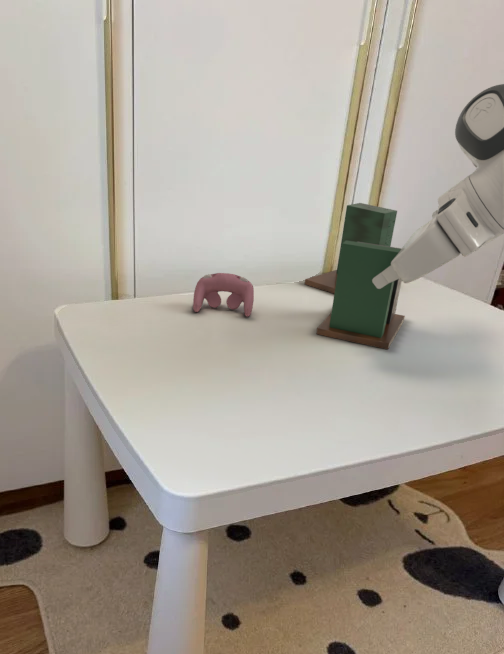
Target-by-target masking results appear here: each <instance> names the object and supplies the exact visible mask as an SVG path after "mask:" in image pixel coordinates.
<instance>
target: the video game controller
mask: <svg viewBox="0 0 504 654" xmlns="http://www.w3.org/2000/svg"><path fill="white" fill-rule="evenodd" d="M219 292H224V293H225V292H226V293H231V294H229V295H228V297H227V298H226V303H225V304H226V305H227V307H228V308H229V309H230V310H232V311H233V310H237V309H239V307H240V306H241V305H242V303H243V311H244V312H243V313H244V316H245V317H250V316H251V315H252V312H253V308H254V301H255V299H254V298H255V291H254V285H253V284H252V282H251V281H250V280H248V279H247V278H246V277H245V276H240V275H237V274H234V273H228V272H215V273H211V274H209V273H208V274H205V275H204V276H201V277H200V279H199V280H198V281H197V282H196V285H195V287H194V291H193V299H192V300H193V302H192V308H193V311H194V313H198V312H199V311H200V310H201V309H202V306H203V304H204V300H206V301H207V304H208V306H209V307H211V308H212V309H213V308H214V309H215V308H219V307H220V306H221V304H222V298H221V295H220V294H219Z"/></svg>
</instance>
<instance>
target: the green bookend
mask: <svg viewBox="0 0 504 654" xmlns="http://www.w3.org/2000/svg"><path fill="white" fill-rule="evenodd" d="M344 214H345V216H344V221H343V227H342V228H343V229H342V233H341V241H340V246H339V254H338V259H337V260H338V261H337V266H336V269H335V270H331V271H328V272H325V273H321V274H318V275H314V276H312V277H311V276H310V277H307V278H305V279H304V285H306V286H309V287H312V288H316V289H318V290H321V291H325V292H327V293H331V294H334V293H335V287H336V280H337V274H338V268H339V261H340V255H341V248H342V243H343V242H345V241H346V240H347V241H353V242H364V243H370V244H376V245H383V246H389V247H392V241H393V235H394V230H395V225H396V220H397V214H398V210H395V209H391V208H387V207H382V206H378V205H373V204H367V203H364V202H363V203H362V202H358V203H352V204H346V209H345V213H344Z"/></svg>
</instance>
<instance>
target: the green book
mask: <svg viewBox="0 0 504 654" xmlns="http://www.w3.org/2000/svg"><path fill="white" fill-rule="evenodd" d="M391 247H392V246H390V247H385V246H379V245H372V244H366V243H360V242H353V241H347V240H346V241H345V242H343V243H342V248H341V255H340V261H339V268H338V274H337V280H336V287H335V293H333V301H332V308H331V311H330V313H331V319H330V325H329V327H331V328H336V329H340V330H345V331H350V332H355V333H359V334H364V335H369V336H374V337H379V338H381V337H382V335H383V334H384V330H385V325H386V320H387V315H388V310H389V305H390V300H391V295H392V290H393V285H394V281H393V282H391V283H388V284H387V285H385V286H384V287H382V288H381V289H378V288H376V286H375V285H374V283H373V282H372V280H373V278H374V277H375V276H376V275H377V274H379V273H380V272H382V271H383V270H385V269H386V268H388V267H389V266H390V265H391V261H392V260H393V259H394V258H395V257H396V255H397V254H398V253H399V251H400V250H401V249H398V248H399V247H395V248H391Z"/></svg>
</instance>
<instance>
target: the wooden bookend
mask: <svg viewBox="0 0 504 654" xmlns="http://www.w3.org/2000/svg"><path fill="white" fill-rule="evenodd" d="M360 243H364V242H360ZM366 244H370V243H366ZM372 245H376V244H372ZM379 246H383V245H379ZM385 247H389V246H385ZM390 247H391V248H396V247H395V246H390ZM397 248H398V249H402V248H403V247H397ZM402 283H403V281H402V280H401V279H400V278H399V279H397V280H395V281H394V285H393V290H392V295H391V300H390V305H389V310H388V315H387V320H386V325H385V330H384V334H383V335H382V337H381V338H379V337H374V336H369V335H364V334H359V333H355V332H350V331H345V330H340V329H336V328H331V327H329V325H330V319H331V312H330V313H329V314H328V315H327V317H326V318H325V319H324V320H323V321H322V322H321V323H320V324H319V325H318V327H317V328H316V335H320V336H323V337H328V338H333V339H337V340H342V341H347V342H352V343H355V344H361V345H364V346H365V345H367V346H371V347H375V348H379V349H383V350H389V348H390V347H391V345H392V343H393V341H394V340H395V338H396V336H397V334H398V332H399V331H400V329H401V327H402V325H403V324H404V322H405V318H406V316H405V315H402V314H398V313H396V310H397V306H398V302H399V301H398V300H399V298H400V297H399V296H400V291H401V286H402Z"/></svg>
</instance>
